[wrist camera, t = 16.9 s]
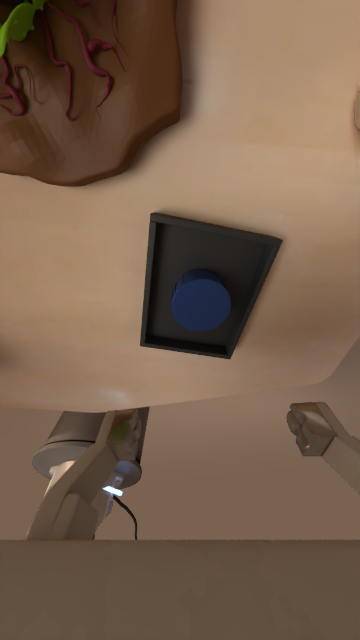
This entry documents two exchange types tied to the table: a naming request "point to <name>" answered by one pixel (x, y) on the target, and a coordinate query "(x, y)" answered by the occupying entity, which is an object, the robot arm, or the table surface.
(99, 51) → the plant
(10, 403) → the table surface
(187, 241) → the tray
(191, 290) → the jar lid
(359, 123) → the apple
